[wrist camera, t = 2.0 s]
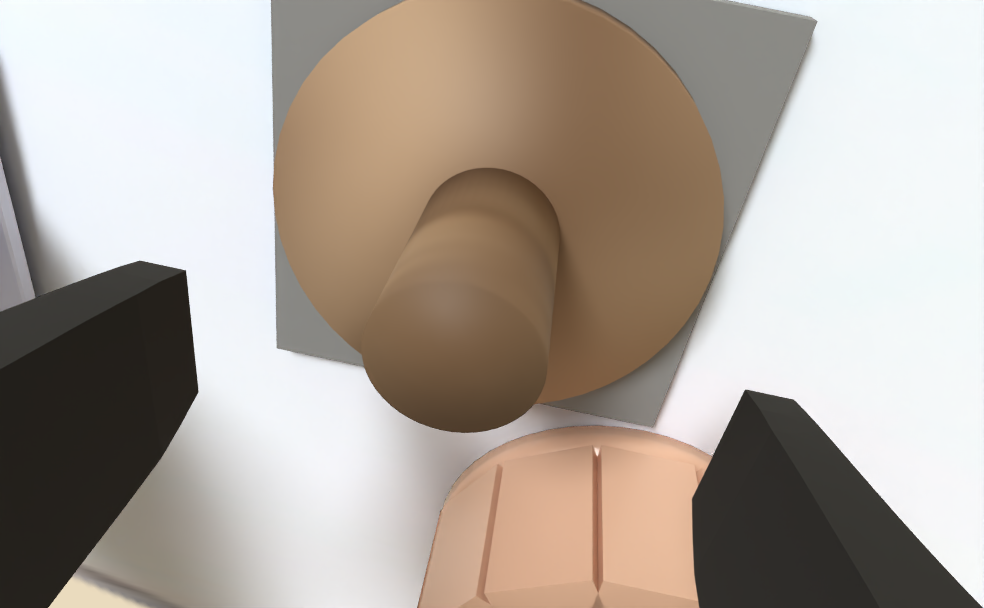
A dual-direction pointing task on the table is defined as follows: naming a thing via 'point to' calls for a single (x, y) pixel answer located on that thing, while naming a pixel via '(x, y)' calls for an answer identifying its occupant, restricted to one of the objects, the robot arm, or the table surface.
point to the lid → (497, 203)
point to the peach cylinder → (570, 524)
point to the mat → (699, 64)
